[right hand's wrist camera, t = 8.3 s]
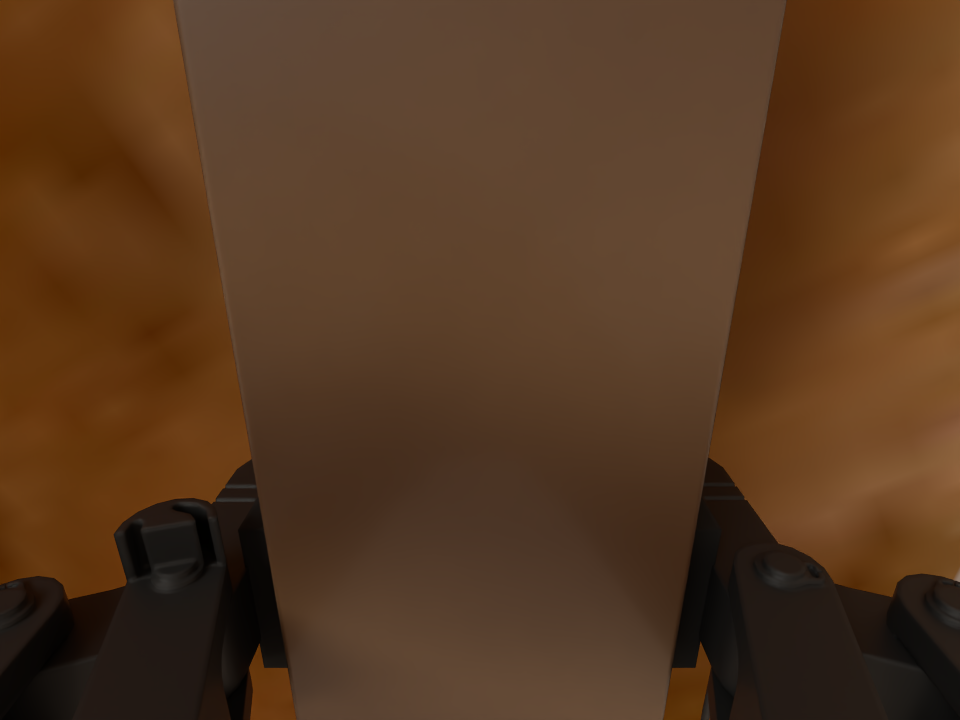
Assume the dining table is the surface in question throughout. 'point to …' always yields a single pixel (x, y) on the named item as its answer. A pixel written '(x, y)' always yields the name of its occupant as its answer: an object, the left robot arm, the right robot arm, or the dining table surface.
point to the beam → (479, 329)
